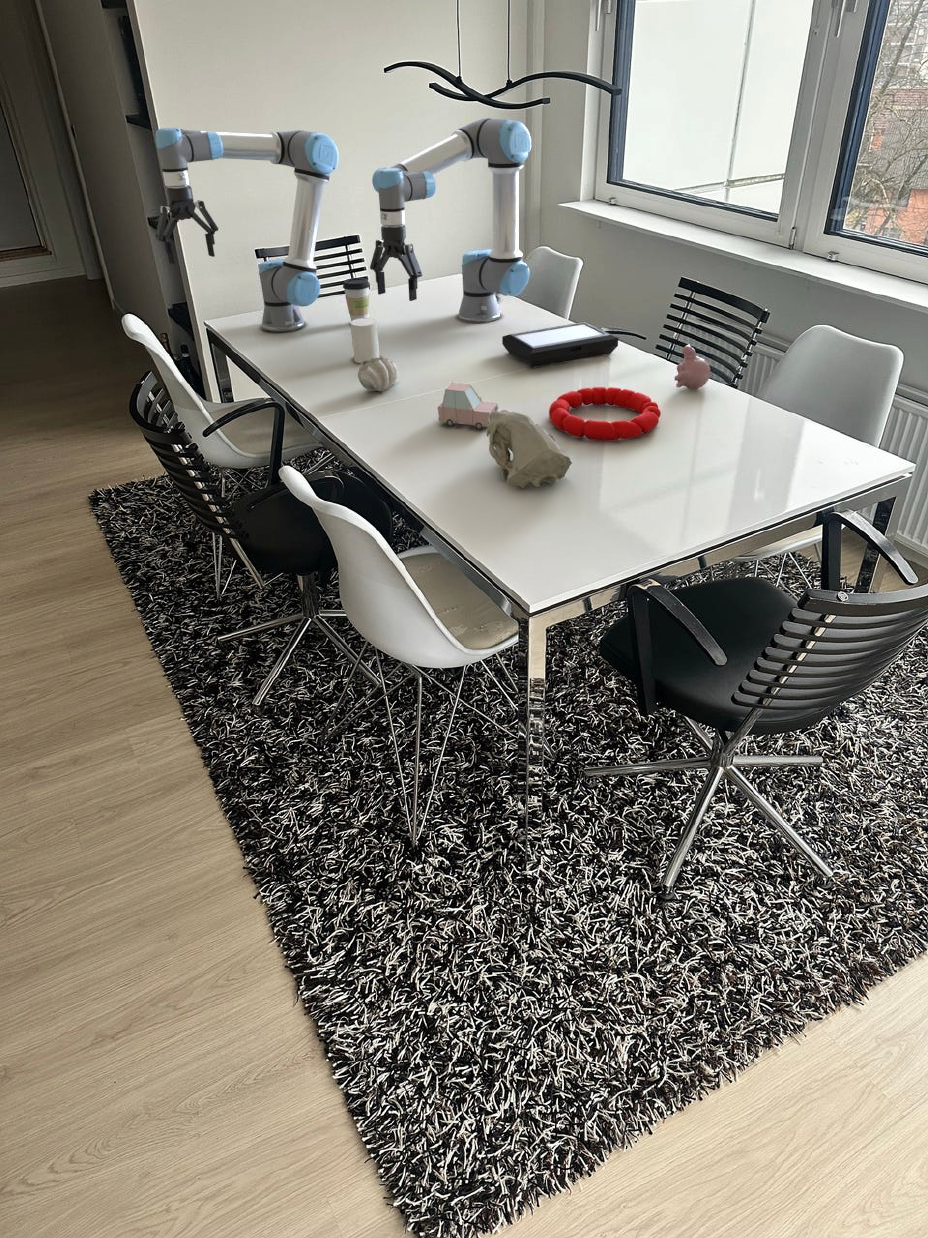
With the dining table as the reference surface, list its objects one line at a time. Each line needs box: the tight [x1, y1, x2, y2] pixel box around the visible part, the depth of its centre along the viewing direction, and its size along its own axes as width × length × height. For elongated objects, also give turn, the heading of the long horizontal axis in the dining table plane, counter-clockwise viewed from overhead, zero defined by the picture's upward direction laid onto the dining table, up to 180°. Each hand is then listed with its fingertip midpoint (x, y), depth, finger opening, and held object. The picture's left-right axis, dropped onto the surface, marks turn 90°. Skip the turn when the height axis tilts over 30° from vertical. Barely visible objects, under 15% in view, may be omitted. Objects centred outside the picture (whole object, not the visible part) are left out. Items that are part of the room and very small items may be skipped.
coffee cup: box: [342, 277, 371, 322], centre depth 323 cm, size 10×10×15 cm
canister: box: [350, 317, 381, 364], centre depth 290 cm, size 8×8×12 cm
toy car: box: [437, 382, 499, 431], centre depth 243 cm, size 9×15×10 cm, turn 70°
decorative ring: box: [548, 386, 661, 442], centre depth 242 cm, size 7×30×30 cm
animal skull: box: [485, 409, 573, 489], centre depth 216 cm, size 17×25×20 cm
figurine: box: [674, 344, 711, 390], centre depth 259 cm, size 9×11×12 cm
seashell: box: [357, 357, 398, 392], centre depth 266 cm, size 10×15×10 cm
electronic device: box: [501, 321, 619, 369], centre depth 290 cm, size 32×6×20 cm
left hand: (192, 259), depth 282 cm, fingers open, 13 cm apart
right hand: (397, 296), depth 284 cm, fingers open, 13 cm apart
